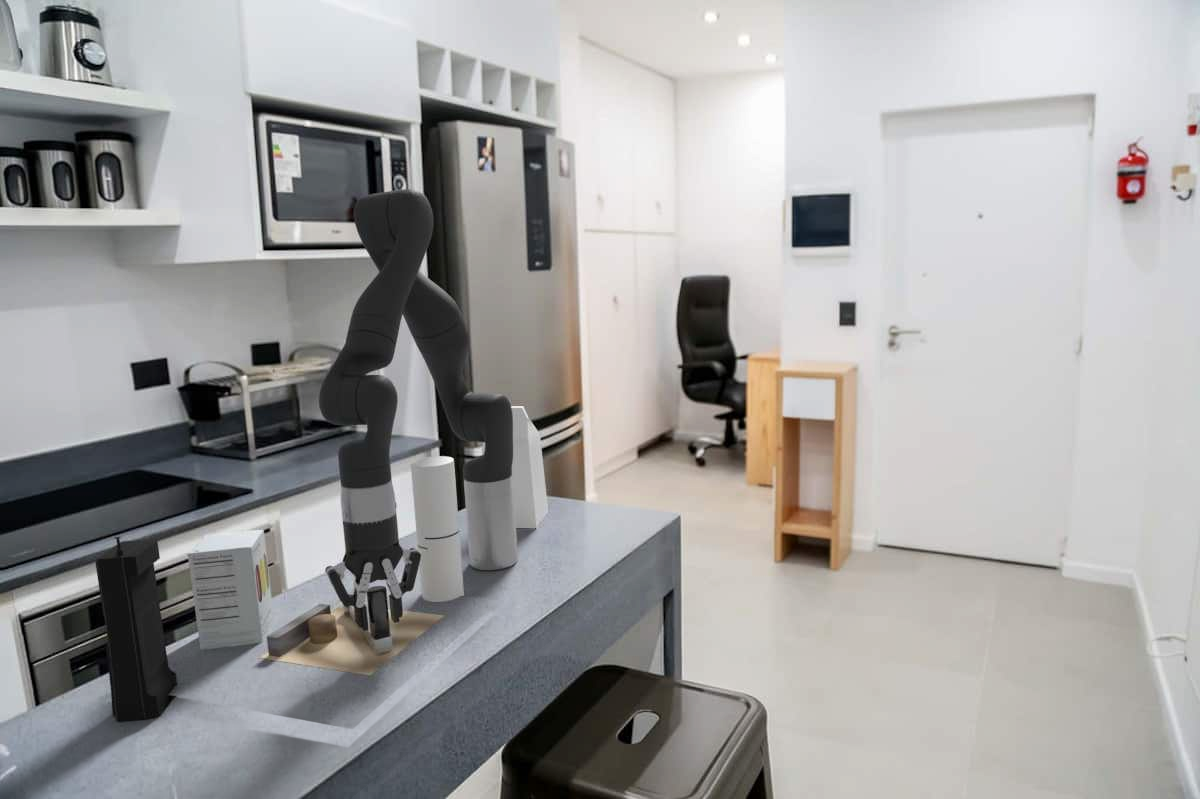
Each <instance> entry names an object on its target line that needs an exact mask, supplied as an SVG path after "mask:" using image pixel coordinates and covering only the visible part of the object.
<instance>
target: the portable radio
mask: <svg viewBox="0 0 1200 799" xmlns="http://www.w3.org/2000/svg"><path fill="white" fill-rule="evenodd" d="M114 539H115V540H116V545H115V546H113V547H111V548H110V549H109V550H108V551H106V552H105V553H103V554H102V555H100V556H98V558H97V559H96V561H95V569H96V576H97V581H98V582H97V584H98V588H99V596H100V603H101V609H102V616H103V618H104V625H105V630H106V631H105V632H106V637H107V644H105V649H106V658H107V659H106V660H107V666H108V674H109V675H108V676H109V684H110V694H111V695H110V696H111V697H110V698H111V710H112V712H111V714H112V715H111V716H112V717H113V718H115V721H116V722H127V721H139V720H146V719H151V718H155V717H159V716H161V715H162V714H163V713H164V712H165V711H166V709H167V708H168V707H169V706H170V704H171V703H172V702H173V701H174V699H175V698H176V697H177V695H172V694H171V692H172V691H173V690H174V689H175V688H176V687H177V685H178V680H177V673H176V672H175V671H173V670H171V668H170V667H169V662H168V661H169V660H168V654H167V648H166V647H167V646H166V641H165V640H166V639H165V634H164V627H163V619H162V613H161V606H160V605H161V604H160V598H159V592H158V584H157V578H156V570H155V564H154V563H156V562H158V561H159V560H160V559H161V557H160V549H159V543H158V540H153V539H139V540H122V541H120V539H121V536H116V537H114Z"/></svg>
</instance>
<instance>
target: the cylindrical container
mask: <svg viewBox="0 0 1200 799" xmlns="http://www.w3.org/2000/svg"><path fill="white" fill-rule="evenodd" d="M455 472H456V470H455V460H454V458H453V457H451V456H445V455H441V456H440V455H439V456H438V455H437V456H427V457H426V456H425V457H420V458H417V459H414V460H412V461H410V473H411V483H412V484H411V485H412V496H413V505H414V506H413V508H414V520H415V530H416V542H417V551H418V552H419V553H420V554H421V559H420V563H419V567H418V569H419V575H420V576H419V577H420V588H421V589H420V593H421V598H422V599H423V600H424V601H427V602H431V603H441V602H442V603H443V602H450V601H452V600H455V599H458V598H460V597H461V596H463V597H464V596H465V592H464V591H465V590H464V589H465V587H464V578H463V576H464V575H463V567H462V566H463V562H462V551H461V549H462V548H461V538H460V523H459V511H458V498H457V485H456V483H457V482H456V473H455Z"/></svg>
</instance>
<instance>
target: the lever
mask: <svg viewBox="0 0 1200 799" xmlns="http://www.w3.org/2000/svg"><path fill="white" fill-rule="evenodd" d="M387 593H388V592H387V587H386V586H385V585H375V586H370V587H368V592H367V593H366V599H367V600H366V599H365V606H366V607H367V618H368V628H369V629H368V630H365V631H363V630H362V628H359V627H358V625H357V624H356V622H355V613H354V606H348V607H345V606H344V605H343V610H344V614H345V615H348V616H350V617H351V618H352V620H353V621H354V623H355V624H356V626H357V627H358V628H359V630H360V631H361V633H362V634H363V636H364V637H365V639H366V640H367V641H368V643H369V644H370V646H371V647H372V649H373V650H374V652H375V653H376V654H380V653H384V652H387V651H391V650H393V647H392V636H391V635H390V624H389V613H388V609H389V606H388V605H389V602H388V594H387Z"/></svg>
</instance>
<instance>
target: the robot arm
mask: <svg viewBox="0 0 1200 799" xmlns="http://www.w3.org/2000/svg"><path fill="white" fill-rule="evenodd" d="M353 218H354V220H353V221H354V224H355V227H356V231H357V233H358V236H359V239H360V241H361V243H362V245H363V246H364V248H365V250H366V252H367V254H368V255H369V257H370V259H371V260H372V262H373V263H374V265H375V266H376V268H377V270H378V273H377V275H376V276H374V278H373V279H372V280H371V282H369V285H368V286H367V287H366V288H365V289H364V290H363V292H362V294H361V295H360V296H359V298H358V299H357V301H356V303H355V306H354V307H353V310H352V313H351V317H350V322H349V325H348V330H347V333H346V336H345V343H344V345H343V347H342V349H341V350H340V352H339V353H338V355H337V357H336V359H335V361H334V363H333V365H331V368H330V369H329V371H327V372H328V373H327V374H326V376H325V378H324V380H323V381H322V385H321V388H320V390H319V394H318V396H319V397H318V406H319V411H320V413H321V415H322V417H323V418H324V419H325V421H327V422H328V423H329V424H332V425H335V426H366V433H365V435H364V438H359V439H355V440H351V441H347V442H345V443H344V444H342V445H341V446H340V447H339V449H338V454H337V455H338V468H339V469H338V470H339V479H340V507H341V518H342V527H343V529H342V530H343V538H344V548H345V551H344V553H345V554H344V556H343V557H342V561H340V562H338V563H336V564H335V565H333V566H332V565H328V566H326V567H325V570H324V571H325V574H326V575H327V577H328V580H329V582H330V583H331V586H332V588H333V590H334V591H335V593H336V595H337V597H338V599H339V601H340V602H341V604H343V605H344V606H345V607H348V606H354V613H355V622H356V624H357V625H358V627H359V628H362V630H363V631H365V630H368V629H369V628H368V618H367V607H366V606H365V600H366V599H367V592H368V589H369V588H370V587H369V586H370V584H372V583H374V582H376V581H385V583H386V585H387V588H388V591H389V592H390V595H388V600H389V602H388V604H389V609H390V613H391V619H392V620H393V622H394V623H396V622H399V621H400V620H399V618H400V617H402V615H403V611H404V610H403V599H402V598H403V596H404V594H406V593H408V592H412V591H413V590H414V587H415V583H416V580H417V575H418V572H419V563H420V559H421V554H420V553H419V552H418V549H416V548H415V547H411V548H409V549H408V548H407V549H406V548H403V547H402V546H401V544H400V542H399V540H400V539H399V527H398V516H397V507H398V504H397V502H396V501H397V500H396V496H395V490H394V484H393V480H392V468H391V458H390V453H391V452H390V451H391V442H392V441H391V440H392V433H393V428H394V424H395V423H394V422H395V419H396V414H397V410H398V392H397V389H396V386H395V385H394V383H393V381H391V379H389V378H388V377H387V376H384V375H381V374H369V373H372V372H375V371H378V370H383V369H384V368H387V367H389V365H390V364H391V363H392V362H393V359H394V357H395V351H396V346H397V343H398V342H397V341H398V338H399V334H400V333H399V331H400V327H401V321H402V317H403V318H404V320H405V322H406V325H407V327H408V329H409V332H410V334H411V336H412V338H413V340H414V342H415V345H416V347H417V349H418V351H419V352H420V354H421V356H422V358H423V360H424V362H425V365H426V366H427V369H428V371H429V374H430V375H431V378H432V380H433V382H434V385H435V387H436V390H437V392H438V395H439V398H440V401H441V403H442V407H443V411H444V413H445V415H446V418H447V421H448V424H449V426H450V428H451V430H452V432H453V434H454V435H455V436H456V437H457V438H458V439H459V440H462V441H465V442H473V443H475V442H476V443H483V442H485V452H484V455H482V454H481V456H476V457H475V458H472V459H470V460H468V461H466V462H465V463H463V467H462V474H463V475H462V476H463V477H462V478H463V488H464V489H463V490H464V499H465V502H464V503H465V514H466V516H465V517H466V529H467V540H468V541H467V542H468V555H469V556H468V558H469V565H470V567H471V568H473V569H476V570H480V571H495V570H496V571H497V570H502V569H507V568H509V567H511V566H513V565H515V564H516V563H517V562H518V555H519V553H518V552H519V551H518V550H519V549H518V536H517V529H516V518H515V510H514V497H513V482H512V462H513V415H512V408H511V407H512V406H511V402H510V400H509V399H508V397H507V396H506V395H504V394H501V393H484V392H483V393H482V392H479V393H478V392H472V391H471V389H470V388H469V387H468V384H467V382H466V380H465V377H464V373H463V372H464V366H465V363H466V360H467V356H468V352H469V348H470V343H471V342H470V341H471V340H470V339H471V336H470V332H469V329H468V326H467V325H466V321H465V320H464V318H463V315H462V312H461V310H460V308H459V306H458V304H457V303H456V301H455V300H454V299H453V298H452V296H450V295H449V294H448V293H447V292H446V291H445V289H443V288H441V287H440V285H438V284H436V283H435V282H434V281H432V280H431V279H430V278H428V277H427V276H426V275H425V274H424V273H422V272H421V271H420V268H421V266H422V264H423V261H424V259H425V256H426V253H427V250H428V248H429V245H430V242H431V239H432V235H433V230H434V213H433V209H432V207H431V204H430V202H429V200H428V198H427V196H426V195H425V194H424V193H423V192H422V191H420V190H418V189H415V188H401V189H396V190H389V191H383V192H376V193H371V194H366V195H364V196H361V197H360V198H359V199H357V201H356V202H355V204H354V208H353ZM401 559H402V561H403V562H404V564H405V565H404V569H403V572H402V577H401V581H400V582H399V581H398V577H397V575H396V573H395V570H396V568H397V566H398V564H399V563H400V561H401ZM346 569H347V570H348V571H349V572H350V573H351V574H352V575H353V576H354V579H353V591H352V594H350V593H348V590H347V589H346V587H345V585H344V583H343V581H342V580H344V578H345V576H346V575H345V571H346Z"/></svg>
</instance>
